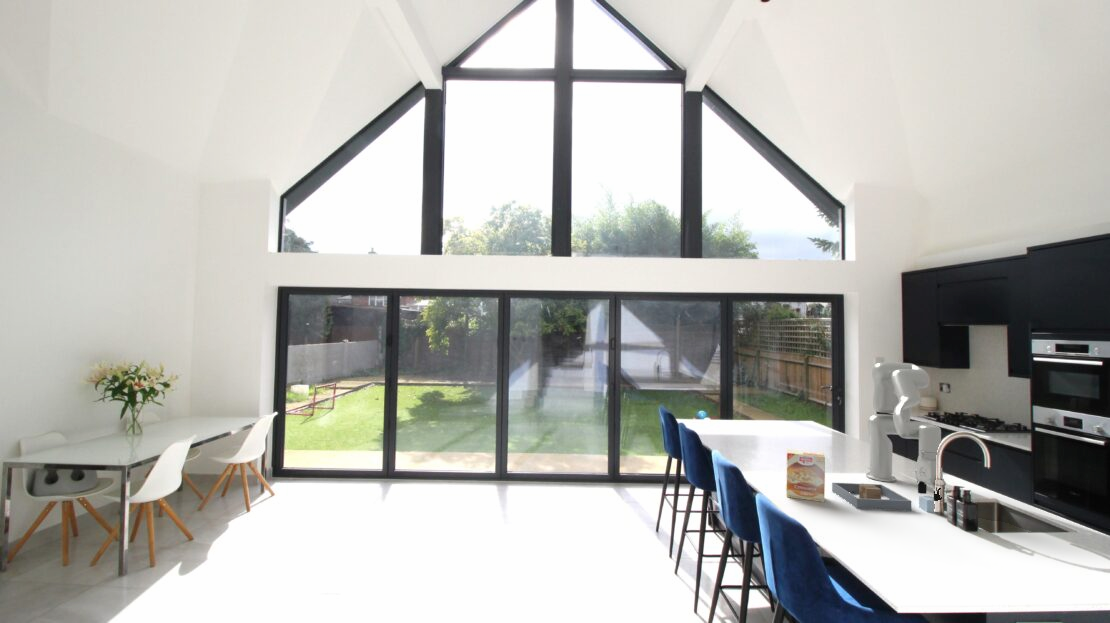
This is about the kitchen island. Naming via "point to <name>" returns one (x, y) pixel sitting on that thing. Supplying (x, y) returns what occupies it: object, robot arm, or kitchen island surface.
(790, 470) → the coffeecake box
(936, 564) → the kitchen island surface
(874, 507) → the grey square tray
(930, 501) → the pale blue box
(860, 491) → the walnut block
